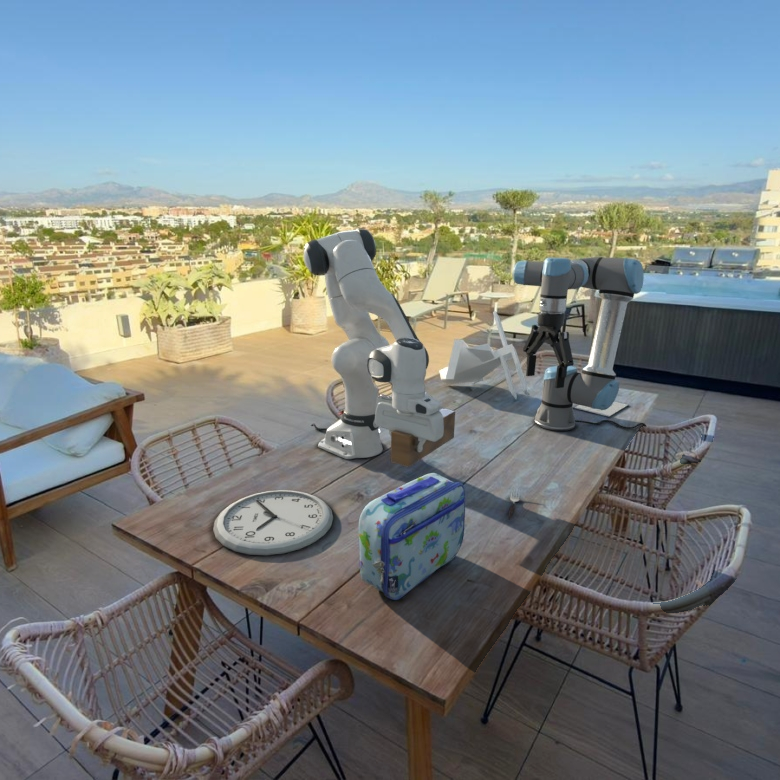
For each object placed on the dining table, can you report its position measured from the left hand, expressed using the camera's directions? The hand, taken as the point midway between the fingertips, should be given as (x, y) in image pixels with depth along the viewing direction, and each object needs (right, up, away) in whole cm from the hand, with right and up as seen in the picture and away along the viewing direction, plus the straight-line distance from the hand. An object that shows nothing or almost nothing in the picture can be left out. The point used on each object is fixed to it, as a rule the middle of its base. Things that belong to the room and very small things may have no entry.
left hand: (407, 448), depth 143 cm
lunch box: (0, -25, -27) cm, 37 cm away
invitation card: (+87, +9, +84) cm, 121 cm away
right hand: (+42, +18, +17) cm, 49 cm away
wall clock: (-35, -18, -8) cm, 40 cm away
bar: (+5, -1, +8) cm, 10 cm away
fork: (+29, -16, +1) cm, 33 cm away
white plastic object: (+37, +15, +101) cm, 108 cm away
